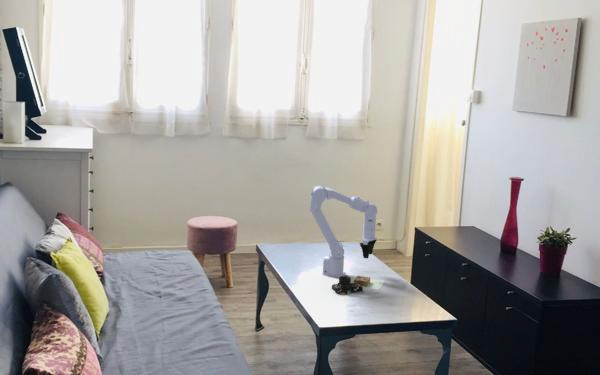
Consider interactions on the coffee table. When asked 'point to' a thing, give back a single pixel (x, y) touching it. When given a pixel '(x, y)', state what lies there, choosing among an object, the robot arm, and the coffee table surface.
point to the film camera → (346, 286)
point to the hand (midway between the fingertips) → (367, 256)
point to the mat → (371, 283)
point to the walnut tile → (362, 280)
